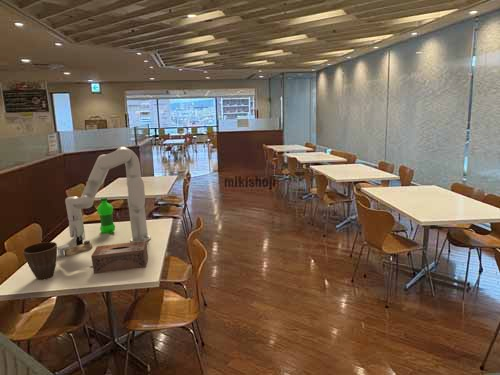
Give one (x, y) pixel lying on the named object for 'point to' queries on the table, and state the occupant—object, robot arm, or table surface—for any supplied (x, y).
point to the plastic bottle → (106, 216)
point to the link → (78, 248)
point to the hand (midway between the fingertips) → (80, 246)
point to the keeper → (61, 248)
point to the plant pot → (42, 259)
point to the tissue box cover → (119, 257)
